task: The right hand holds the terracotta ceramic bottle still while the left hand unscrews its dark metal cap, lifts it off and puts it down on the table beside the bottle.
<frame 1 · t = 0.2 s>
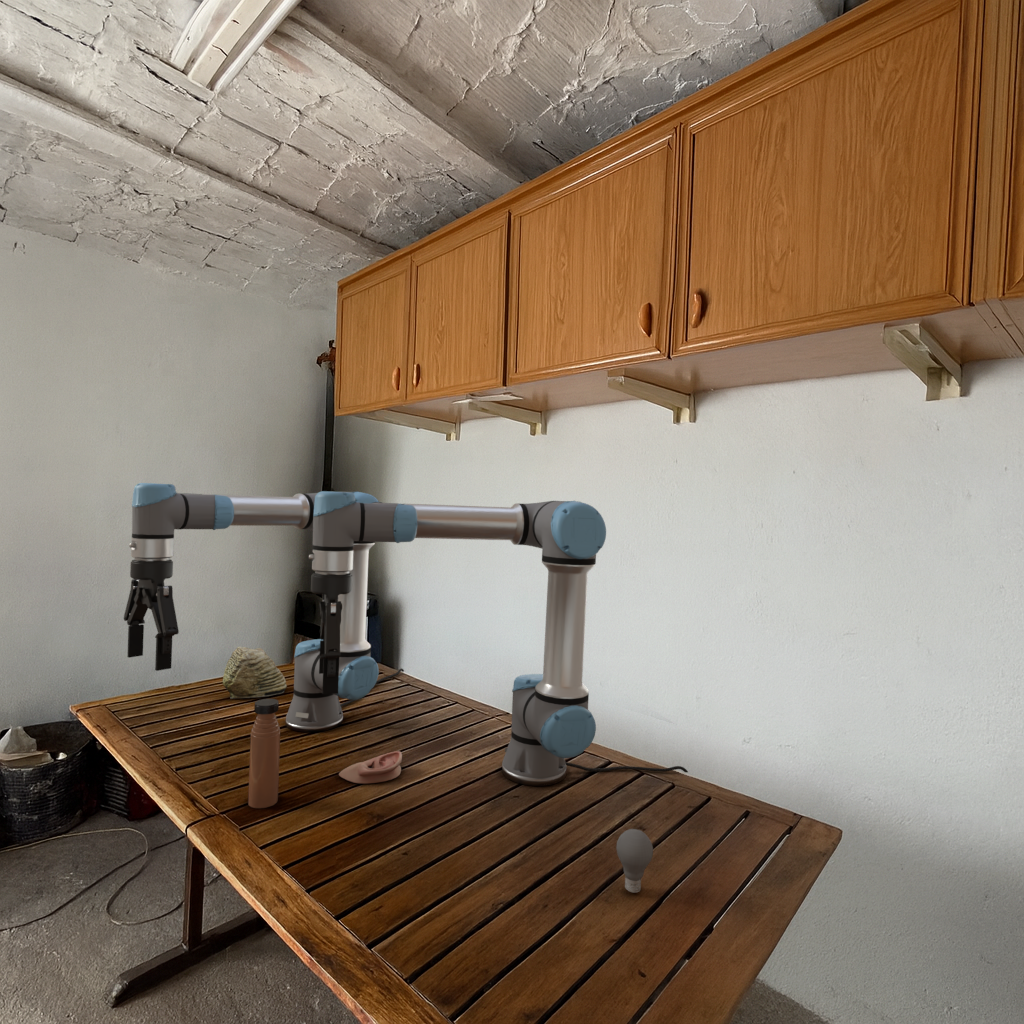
left hand: (148, 662, 129), 28 cm above the table, tool pointing down, fingers open, 13 cm apart
right hand: (328, 682, 121), 28 cm above the table, tool pointing down, fingers open, 13 cm apart
cap: (266, 703, 130), point 20 cm above the table, screwed on, not yet turned
bottle: (263, 801, 131), on the table
anatomical model: (370, 774, 146), on the table
fossil: (254, 694, 198), on the table
light bulb: (632, 891, 106), on the table
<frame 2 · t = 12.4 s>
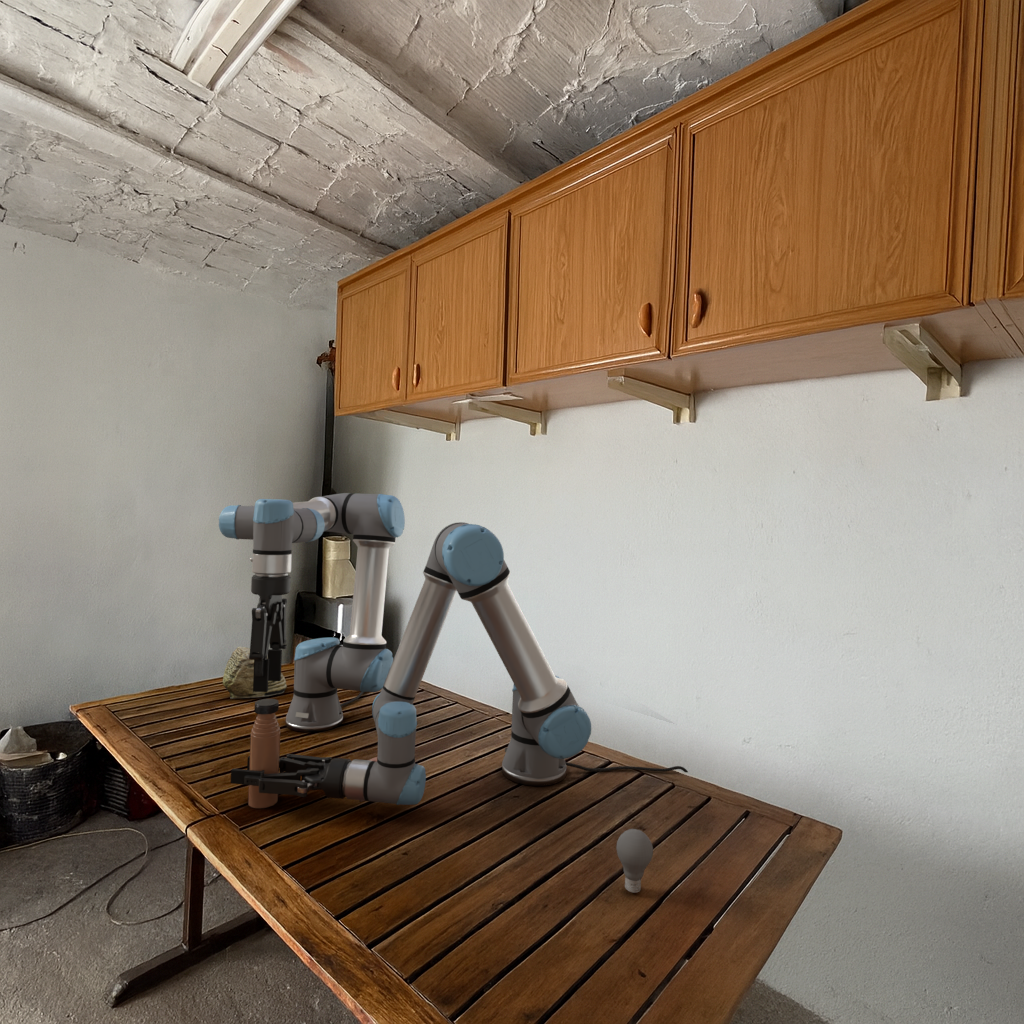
left hand: (267, 685, 130), 24 cm above the table, tool pointing down, fingers open, 7 cm apart
right hand: (240, 769, 131), 6 cm above the table, tool horizontal, fingers closed on bottle, 6 cm apart
bottle: (263, 801, 131), on the table, touching right hand
everything else where it was.
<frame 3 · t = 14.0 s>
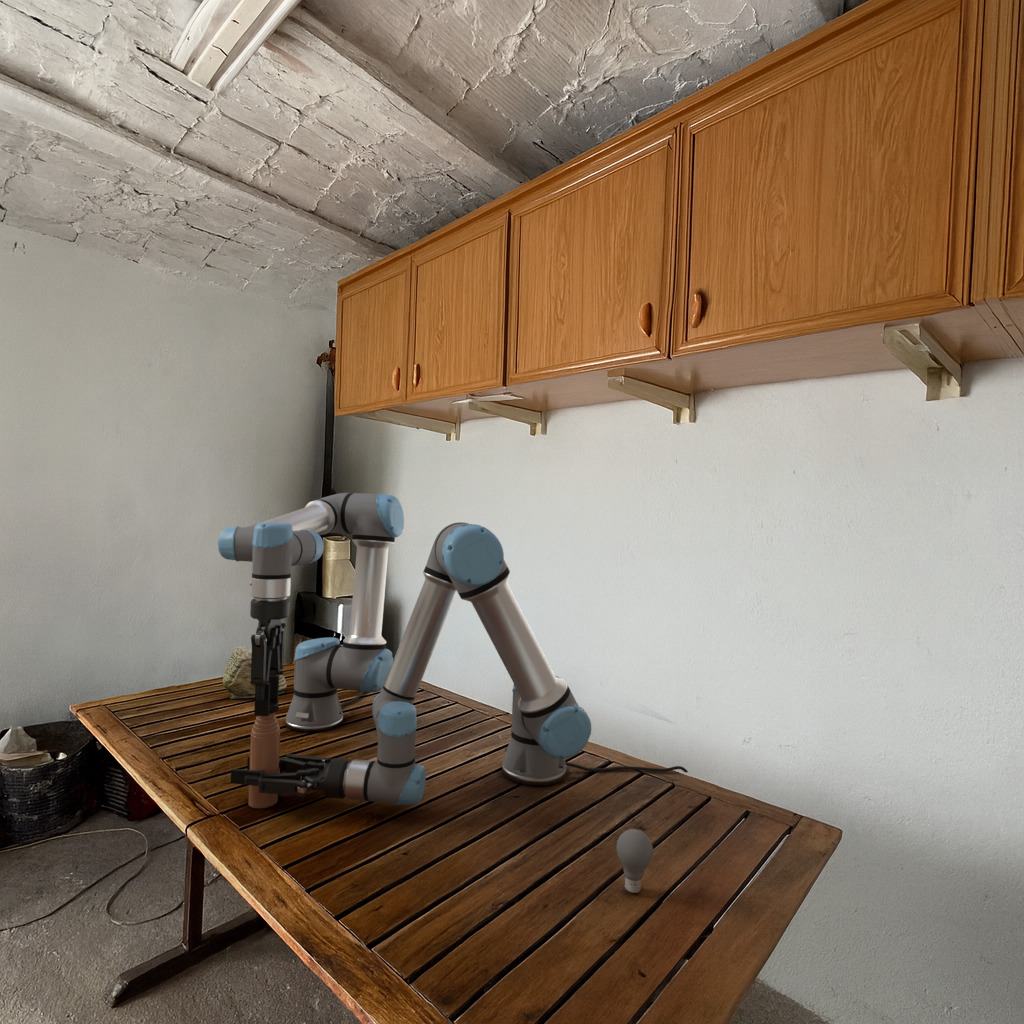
left hand: (266, 710, 130), 19 cm above the table, tool pointing down, fingers closed on cap, 4 cm apart
right hand: (240, 769, 131), 6 cm above the table, tool horizontal, fingers closed on bottle, 6 cm apart
cap: (266, 703, 130), point 20 cm above the table, screwed on, not yet turned, touching left hand
bottle: (263, 801, 131), on the table, touching right hand
everything else where it was.
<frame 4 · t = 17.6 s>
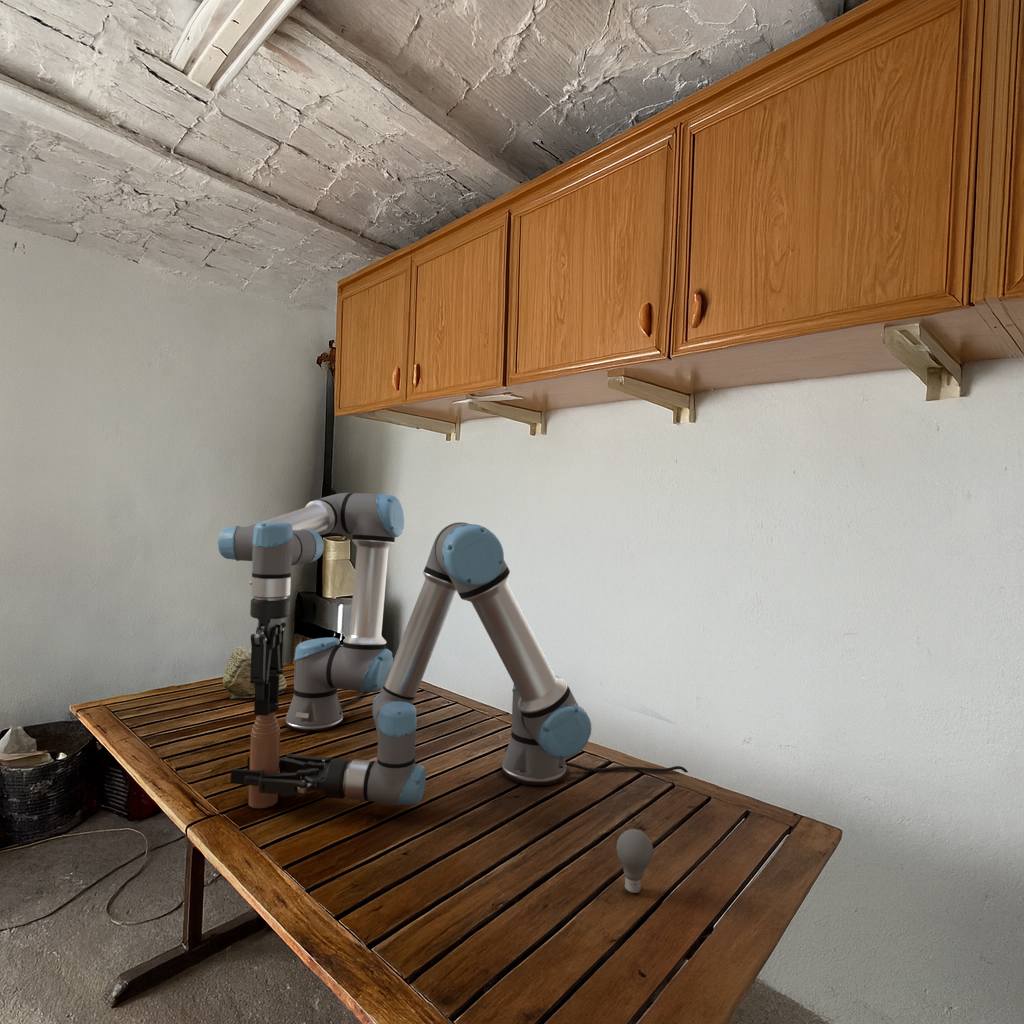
left hand: (266, 710, 130), 19 cm above the table, tool pointing down, fingers closed on cap, 4 cm apart
right hand: (240, 769, 131), 6 cm above the table, tool horizontal, fingers closed on bottle, 6 cm apart
cap: (266, 703, 130), point 21 cm above the table, turned 127° so far, risen 0.1 cm, still on its thread, touching left hand
bottle: (263, 801, 131), on the table, touching right hand
everything else where it was.
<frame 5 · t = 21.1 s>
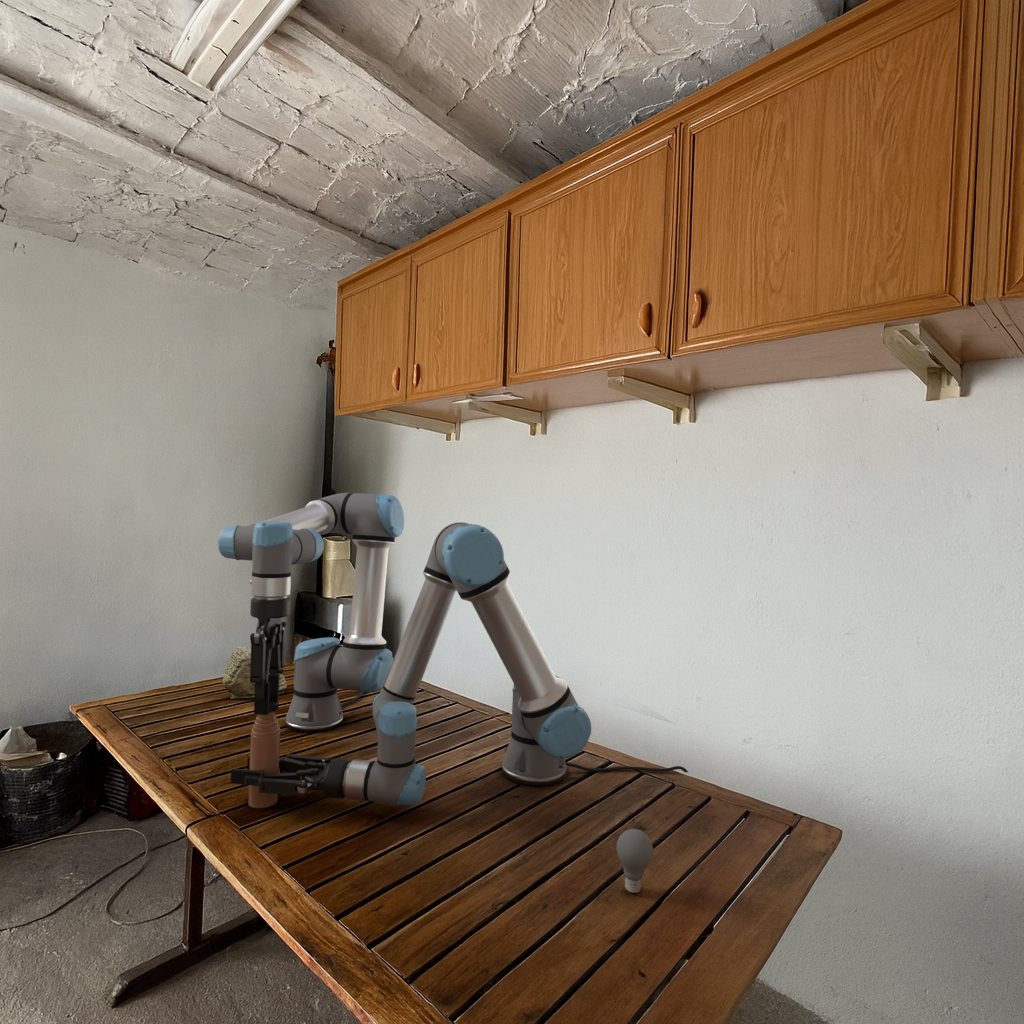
left hand: (266, 709, 130), 19 cm above the table, tool pointing down, fingers closed on cap, 4 cm apart
right hand: (240, 769, 131), 6 cm above the table, tool horizontal, fingers closed on bottle, 6 cm apart
cap: (266, 702, 130), point 21 cm above the table, turned 255° so far, risen 0.2 cm, still on its thread, touching left hand
bottle: (263, 801, 131), on the table, touching right hand
everything else where it was.
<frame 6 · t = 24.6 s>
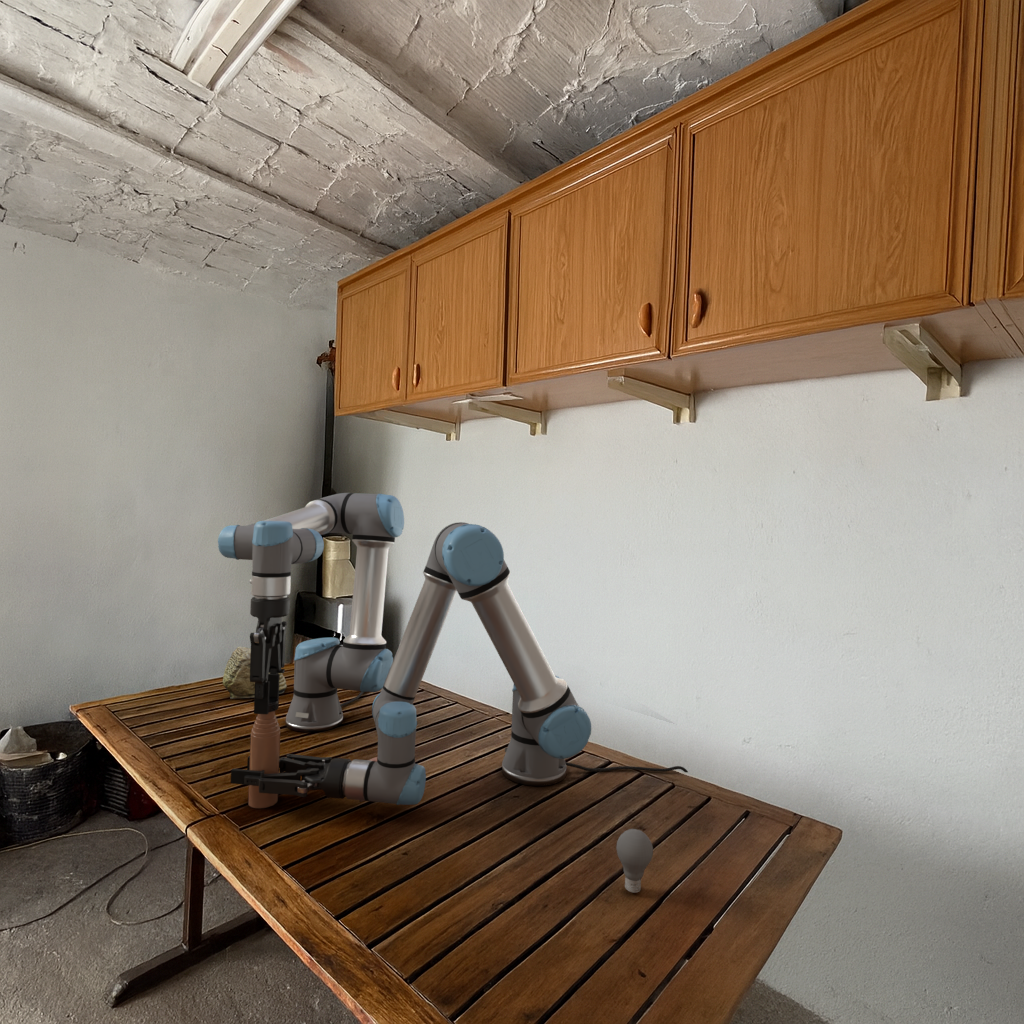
left hand: (266, 708, 130), 19 cm above the table, tool pointing down, fingers closed on cap, 4 cm apart
right hand: (240, 769, 131), 6 cm above the table, tool horizontal, fingers closed on bottle, 6 cm apart
cap: (266, 701, 130), point 21 cm above the table, turned 382° so far, risen 0.4 cm, still on its thread, touching left hand
bottle: (263, 801, 131), on the table, touching right hand
everything else where it was.
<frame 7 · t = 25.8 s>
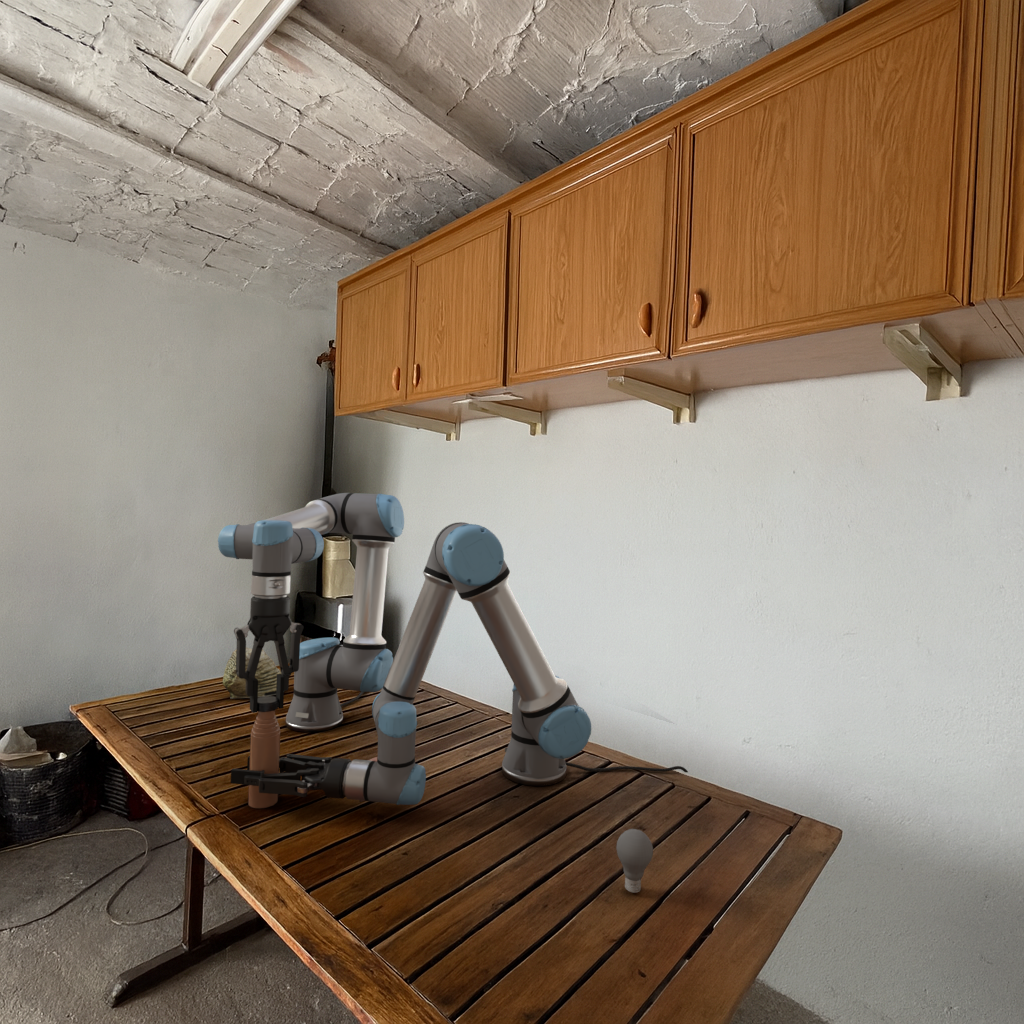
left hand: (266, 708, 130), 19 cm above the table, tool pointing down, fingers closed on cap, 4 cm apart
right hand: (240, 769, 131), 6 cm above the table, tool horizontal, fingers closed on bottle, 6 cm apart
cap: (266, 701, 130), point 21 cm above the table, off its thread, touching left hand
bottle: (263, 801, 131), on the table, touching right hand
everything else where it was.
when the left hand's fingers open (1 cm above the table, at t = 30.9 s): cap drops 1 cm, point 1 cm above the table.
when the right hand's fingers open (6 cm above the table, at t = 32.0 s): bottle stays where it is, on the table.
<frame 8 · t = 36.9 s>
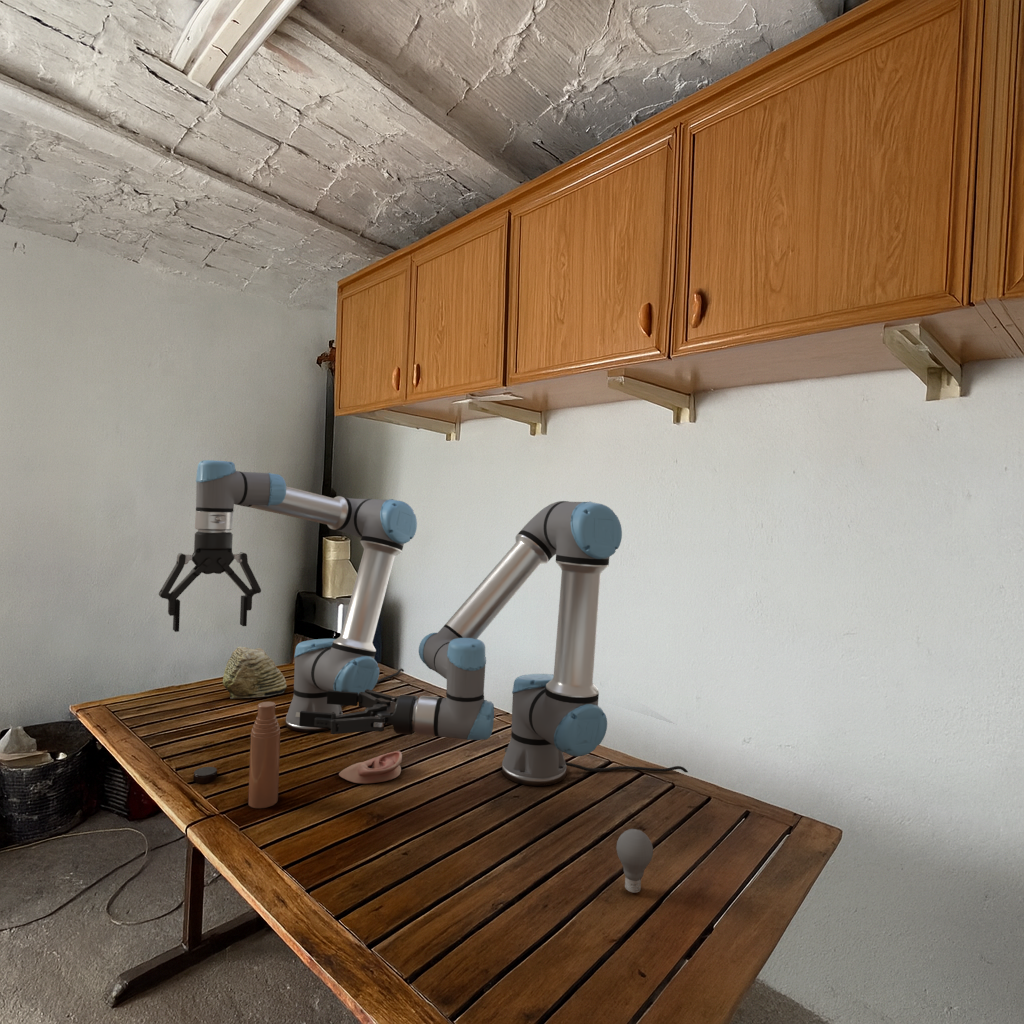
left hand: (210, 627, 139), 34 cm above the table, tool pointing down, fingers open, 13 cm apart
right hand: (314, 707, 129), 20 cm above the table, tool horizontal, fingers open, 13 cm apart
cap: (205, 772, 140), point 1 cm above the table, off its thread
bottle: (263, 801, 131), on the table
everything else where it was.
at the end: cap came off its thread; cap point 1.5 cm above the table; the left hand is holding nothing; the right hand is holding nothing; bottle tilted 0°; bottle moved 0.0 cm from its start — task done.
